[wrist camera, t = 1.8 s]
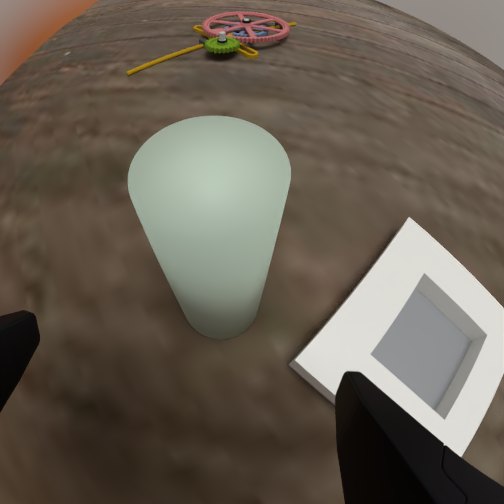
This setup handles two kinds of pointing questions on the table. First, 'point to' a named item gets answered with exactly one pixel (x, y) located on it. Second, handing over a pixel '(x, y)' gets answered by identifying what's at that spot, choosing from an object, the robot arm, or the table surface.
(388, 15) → the table surface
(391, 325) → the socket block
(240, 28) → the mechanical gear assembly
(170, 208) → the green post
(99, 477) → the table surface
